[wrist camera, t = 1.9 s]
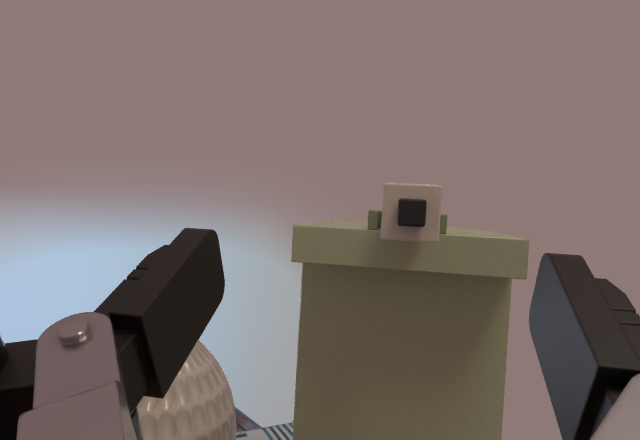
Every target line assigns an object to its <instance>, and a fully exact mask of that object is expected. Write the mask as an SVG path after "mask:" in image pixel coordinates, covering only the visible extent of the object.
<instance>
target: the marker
mask: <svg viewBox="0 0 640 440" xmlns="http://www.w3.org/2000/svg"><path fill="white" fill-rule="evenodd" d="M441 198H442V186H441V185H426V184H402V183H384V187H383V203H382V220H381V239H382V240H397V241H412V242H428V243H438V242H439V231H440V215H441Z"/></svg>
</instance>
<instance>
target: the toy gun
mask: <svg viewBox="0 0 640 440" xmlns="http://www.w3.org/2000/svg"><path fill="white" fill-rule="evenodd" d="M293 425H294V420H293V423H288V424H282V425H276V426H270V427H265V428H260V429H254V430H248V431H242V432H237V435H236V440H293Z"/></svg>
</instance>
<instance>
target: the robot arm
mask: <svg viewBox="0 0 640 440" xmlns="http://www.w3.org/2000/svg"><path fill="white" fill-rule="evenodd" d="M224 287H225V279H224V272H223V266H222V260H221V253H220V247H219V240H218V236H217V233H216V232H215V231H214V230H209V229H195V228H185V229H184V230H182V232H181V233H180V234H179V235H178V236H177V237H176V238H175V239H174V240H173V241H172V243H171V244H170V245H164V246H162V247H161V248H159V249H157V250H155V251H154V252H152V253H150V254H148V255H147V256H146V257H145V258H144V260H142V261H141V263H140V264H139V265H138V266H137V267H136V270H135V269H134V270H133V271H132V272H131V273H130V274H129V275H128V277H127V280H123V282H122V283H121V284H120V285H119V286H118V287H117V288H116V289H115V290H114V291H113V292H112V293H111V294H110V295H109V296H108V297H107V298H106V300H105V301H104V302H103V303H102V304H101V305H100V306H99V307H98V308H97V309H96V310H95V311H94V312H85V313H79V314H75V315H71V316H69V317H66V318H64V319H61V320H60V321H58V322H56V323H54V324H53V325H51V326H50V327H49V328H48V329H46V330H45V331H44V333H42V335H41V336H40V337H39V339H37V340H29V341H21V342H14V343H6V344H4V342H3V339H2V337H1V335H0V440H144V435H143V430H142V424H141V419H140V414H139V411H138V408H137V406H138V404H139V403H140V401H141V399H142V398H143V396H147V397H154V398H161V399H163V398H164V397H165V395H166V393H167V392H168V390H169V388H170V387H171V385H172V383H173V381H174V380H175V378H176V376H177V375H178V373H179V371H180V370H181V368H182V366H183V365H184V363H185V361H186V360H187V358H188V356H189V355H190V353H191V351H192V350H193V348H194V346H195V345H196V343H197V341H198V340H199V338H200V336H201V335H202V333H203V331H204V329H205V327H206V326H207V324H208V323H209V321H210V319H211V318H212V316H213V314H214V313H215V311H216V309H217V308H218V306H219V304H220V302H221V300H222V298H223V294H224ZM529 324H530V332H531V336H532V339H533V343H534V346H535V349H536V352H537V356H538V359H539V362H540V366H541V369H542V372H543V375H544V379H545V382H546V386H547V389H548V392H549V395H550V398H551V402H552V406H553V409H554V412H555V416H556V419H557V422H558V425H559V428H560V432H561V435H562V439H563V440H640V316H639V315H638V314H636V310H635V309H634V307H633V305H632V304H631V302H630V301H629V299H628V298H627V296H626V294H625V293H623V292H622V291H621V290H619V289H618V288H617V287H616V286H614V285H613V284H612V283H610V282H609V281H608V280H607V279H597V278H594V277H593V274H592V273H591V271H590V269H589V268H588V266H587V264H586V262H585V260H584V259H583V257H582V256H580V255H566V254H552V253H545V254H544V255H543V257H542V259H541V262H540V266H539V271H538V275H537V279H536V284H535V288H534V293H533V297H532V301H531V307H530V315H529Z"/></svg>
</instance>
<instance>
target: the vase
mask: <svg viewBox="0 0 640 440" xmlns="http://www.w3.org/2000/svg"><path fill="white" fill-rule="evenodd" d="M137 408H138V411H139V414H140V419H141V424H142V430H143V435H144V440H236V435H237V428H236V412H235V406H234V402H233V397H232V392H231V390H230V387H229V384H228V381H227V379H226V377H225V375H224V373H223V371H222V369H221V367H220V365H219V363H218V362H217V361H216V359H215V358H214V356H213V355H212V354H211V353H210V351H209V350H208V349H207V348H206V347H205V346H204V345H203V344H202V343H201V342H200V341H199V340H198V341H197V343H196V345H195V346H194V348H193V350H192V351H191V353H190V355H189V356H188V358H187V360H186V361H185V363H184V365H183V366H182V368H181V370H180V371H179V373H178V375H177V376H176V378H175V380H174V381H173V383H172V385H171V387H170V388H169V390H168V392H167V393H166V395H165V397H164V398H163V399H161V398H154V397H147V396H143V398H142V399H141V401H140V403H139V404H138V406H137Z"/></svg>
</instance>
